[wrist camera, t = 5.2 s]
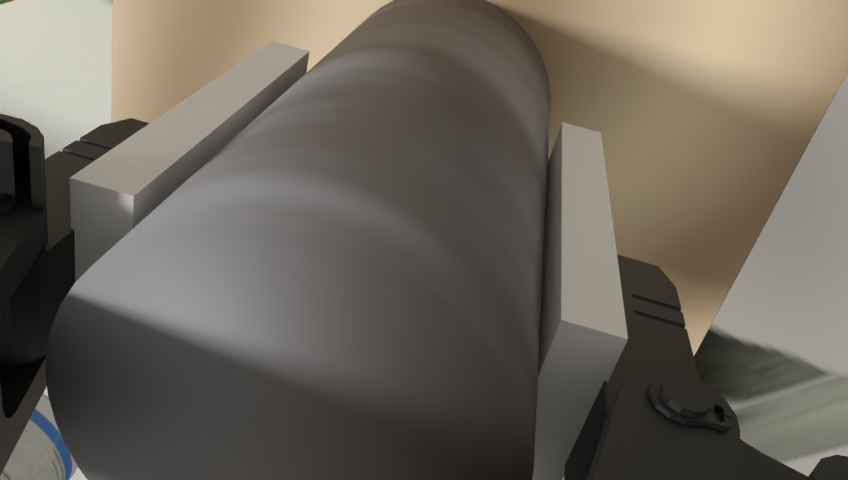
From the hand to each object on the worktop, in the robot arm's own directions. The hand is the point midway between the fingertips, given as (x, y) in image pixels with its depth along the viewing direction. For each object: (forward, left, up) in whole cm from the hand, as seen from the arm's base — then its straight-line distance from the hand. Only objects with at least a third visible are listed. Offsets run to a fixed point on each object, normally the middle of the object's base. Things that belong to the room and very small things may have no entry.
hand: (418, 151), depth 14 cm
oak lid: (0, 0, -4) cm, 4 cm away
